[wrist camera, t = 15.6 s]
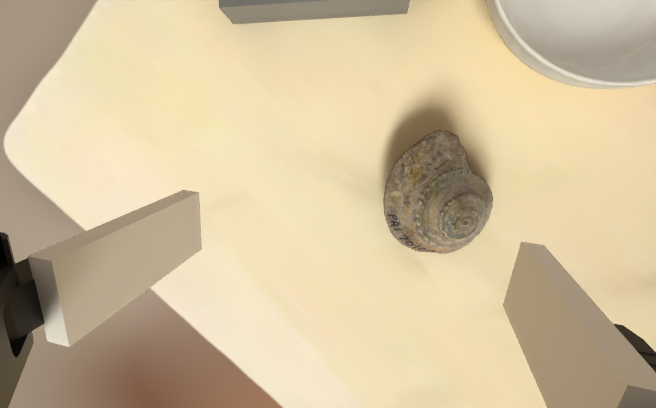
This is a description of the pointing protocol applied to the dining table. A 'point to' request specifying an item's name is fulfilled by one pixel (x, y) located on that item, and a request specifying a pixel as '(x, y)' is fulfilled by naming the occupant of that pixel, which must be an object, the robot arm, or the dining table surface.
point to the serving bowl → (581, 39)
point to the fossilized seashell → (436, 196)
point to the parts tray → (307, 9)
